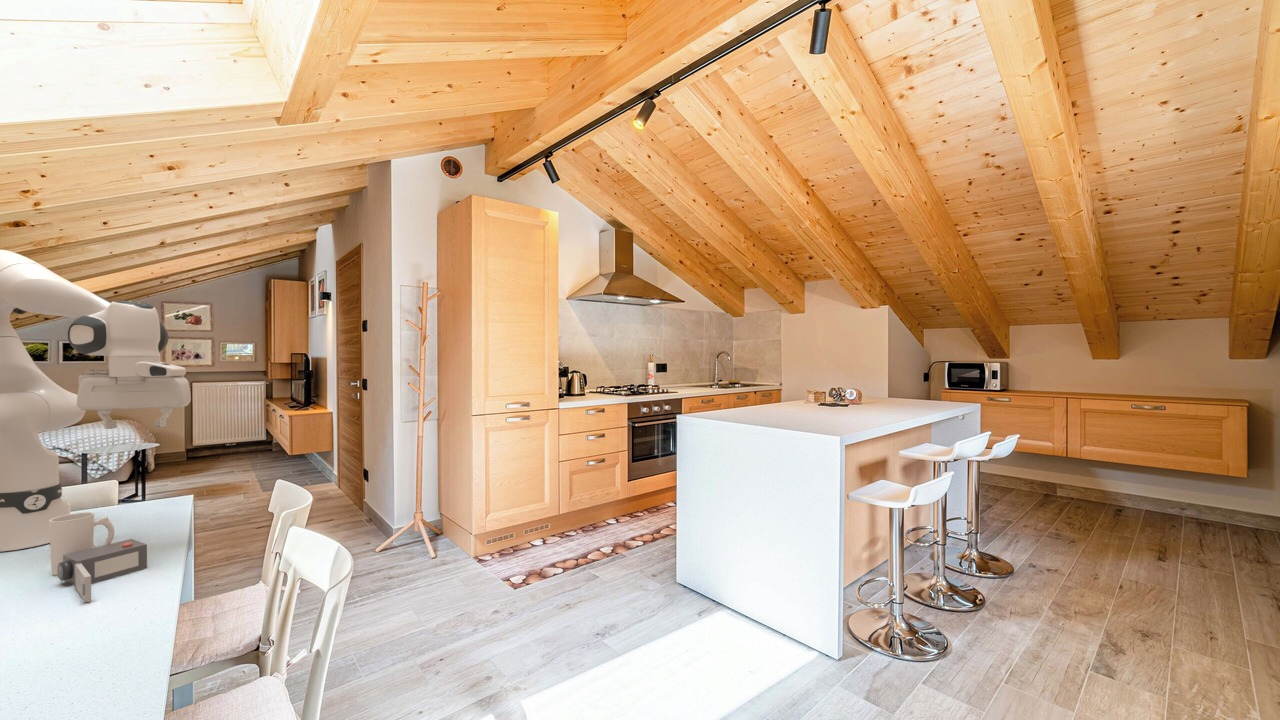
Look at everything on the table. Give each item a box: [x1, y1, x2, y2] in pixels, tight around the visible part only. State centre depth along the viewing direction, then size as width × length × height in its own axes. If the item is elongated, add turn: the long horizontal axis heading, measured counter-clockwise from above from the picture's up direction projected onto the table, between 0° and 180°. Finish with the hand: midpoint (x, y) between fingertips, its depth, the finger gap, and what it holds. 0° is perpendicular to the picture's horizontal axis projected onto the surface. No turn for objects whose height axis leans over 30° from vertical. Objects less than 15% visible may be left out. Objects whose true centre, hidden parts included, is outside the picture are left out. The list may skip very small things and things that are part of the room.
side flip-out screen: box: [74, 563, 92, 603], centre depth 103 cm, size 1×12×5 cm, turn 54°
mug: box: [49, 511, 116, 577], centre depth 117 cm, size 10×7×12 cm, turn 130°
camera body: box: [58, 538, 148, 587], centre depth 113 cm, size 8×12×6 cm, turn 153°
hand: (136, 427), depth 122 cm, fingers open, 8 cm apart
